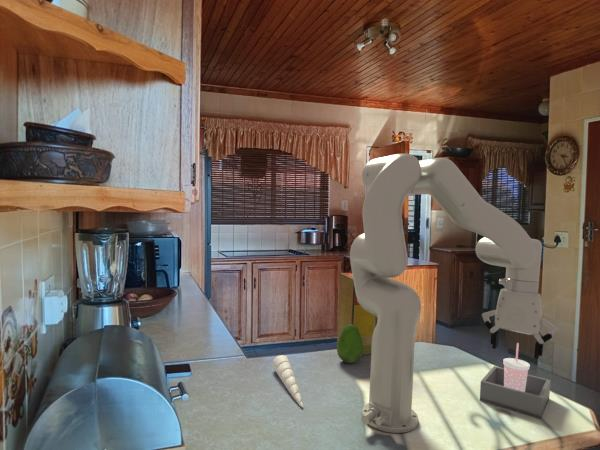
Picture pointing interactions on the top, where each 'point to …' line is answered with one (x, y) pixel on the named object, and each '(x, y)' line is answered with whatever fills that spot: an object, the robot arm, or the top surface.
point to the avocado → (349, 344)
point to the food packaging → (354, 313)
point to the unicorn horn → (287, 377)
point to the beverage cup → (515, 372)
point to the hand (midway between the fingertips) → (515, 352)
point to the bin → (515, 393)
